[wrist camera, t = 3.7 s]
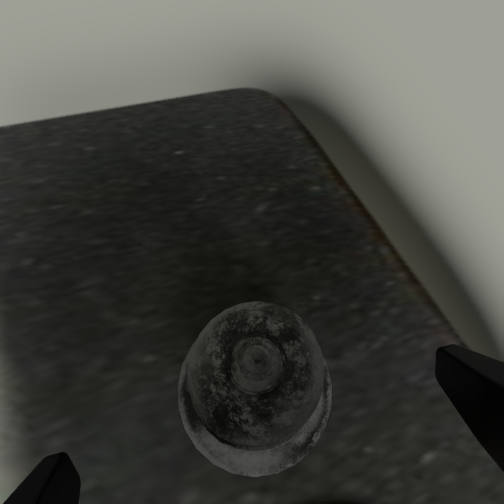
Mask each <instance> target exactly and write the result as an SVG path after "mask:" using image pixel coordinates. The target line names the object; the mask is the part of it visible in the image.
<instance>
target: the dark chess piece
mask: <svg viewBox="0 0 504 504" xmlns="http://www.w3.org/2000/svg"><path fill="white" fill-rule="evenodd" d="M331 397H332V384H331V379H330V375H329V370H328V365H327V363H326V361H325V359H324V357H323V355H322V351H321V348H320V345H319V343H318V341H317V339H316V337H315V335H314V333H313V331H312V330H311V329H310V328H309V326H308V325H307V324H306V323H305V321H304V320H303V319H302V318H301V317H299V316H298V315H296V314H295V313H294V312H292V311H291V310H289V309H288V308H285V307H282V306H280V305H277V304H275V303H270V302H261V301H254V302H246V303H240V304H238V305H235V306H233V307H230V308H228V309H225V310H224V311H223V312H221V313H220V314H218V315H217V316H216V317H214V318H213V319H212V320H211V321H210V322H209V323H208V324H207V325H206V327H205V328H204V329H203V330H202V332H201V333H200V334H199V336H198V338H197V339H196V341H195V342H194V343H193V344H192V346H191V347H190V349H189V351H188V353H187V355H186V358H185V360H184V362H183V364H182V367H181V372H180V377H179V382H178V408H179V411H180V415H181V418H182V421H183V425H184V428H185V430H186V432H187V434H188V435H189V437H190V439H191V440H192V442H193V444H194V445H195V447H196V448H197V449H198V450H199V451H200V452H201V453H202V454H203V455H204V456H205V457H206V458H207V459H208V460H209V461H211V462H212V463H213V464H214V465H216V466H218V467H221V468H223V469H225V470H227V471H229V472H231V473H233V474H238V475H245V476H251V477H259V476H265V475H272V474H277V473H279V472H281V471H283V470H285V469H287V468H290V467H292V466H294V465H296V464H297V463H298V462H299V461H300V460H302V459H303V458H304V457H305V456H306V455H307V454H308V453H309V452H310V451H311V450H312V449H313V448H314V447H315V445H316V443H317V442H318V440H319V438H320V437H321V435H322V433H323V432H324V430H325V427H326V424H327V420H328V417H329V414H330V410H331Z"/></svg>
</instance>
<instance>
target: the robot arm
mask: <svg viewBox="0 0 504 504" xmlns="http://www.w3.org/2000/svg"><path fill="white" fill-rule="evenodd" d="M435 375H436V378H437V381H438V383H439V384H440V386H441V387H442V389H443V390H444V392H445V393H446V395H447V396H448V398H449V399H450V401H451V402H452V404H453V405H454V407H455V408H456V409H457V411H458V412H459V414H460V415H461V417H462V418H463V420H464V421H465V423H466V424H467V426H468V427H469V429H470V430H471V431H472V433H473V434H474V436H475V437H476V438H477V440H478V441H479V442H480V444H481V445H482V446H483V447H484V449H485V450H486V451H487V453H488V454H489V455H490V456H491V457H492V459H493V460H494V461H495V462H496V463H497V465H498V466H499V467H500V468H501V470H502V471H503V472H504V362H501V361H499V360H496V359H493V358H491V357H488V356H485V355H482V354H480V353H477V352H474V351H472V350H469V349H466V348H464V347H461V346H458V345H455V344H450V345H447V346H443V347H440V348H438V349H437V351H436V366H435ZM80 486H81V482H80V477H79V474H78V472H77V470H76V468H75V467H74V465H73V463H72V461H71V459H70V457H69V456H68V454H67V453H65V452H61V453H57V454H53V455H50V456H47V457H45V458H44V459H43V460H42V461H41V462H40V463H39V464H38V465H37V466H36V467H35V468H34V469H33V471H32V472H31V473H30V474H29V475H28V476H27V477H26V478H25V480H24V481H23V482H22V483H21V484H20V485H19V486H18V487H17V489H16V490H15V491H14V492H13V493H12V494H11V495H10V496H9V498H8V499H7V500H6V501H5V502H4V503H3V504H78V502H79V495H80Z"/></svg>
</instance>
